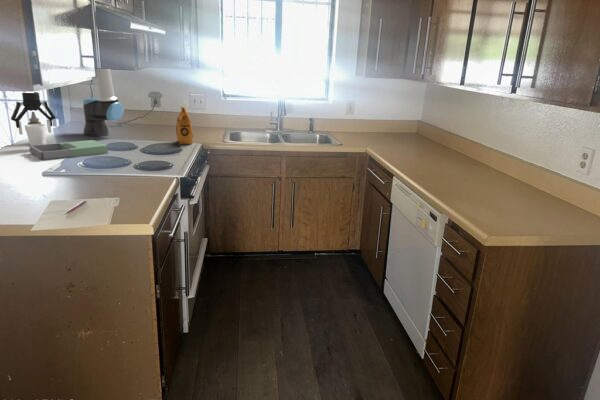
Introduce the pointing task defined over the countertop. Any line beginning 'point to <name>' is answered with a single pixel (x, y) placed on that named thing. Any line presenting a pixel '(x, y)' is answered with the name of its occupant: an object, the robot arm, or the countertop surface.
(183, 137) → the coffee package
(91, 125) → the robot arm
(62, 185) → the countertop surface
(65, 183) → the countertop surface
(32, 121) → the squeeze bottle
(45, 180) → the countertop surface
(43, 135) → the foam cup
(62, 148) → the grey green tray
